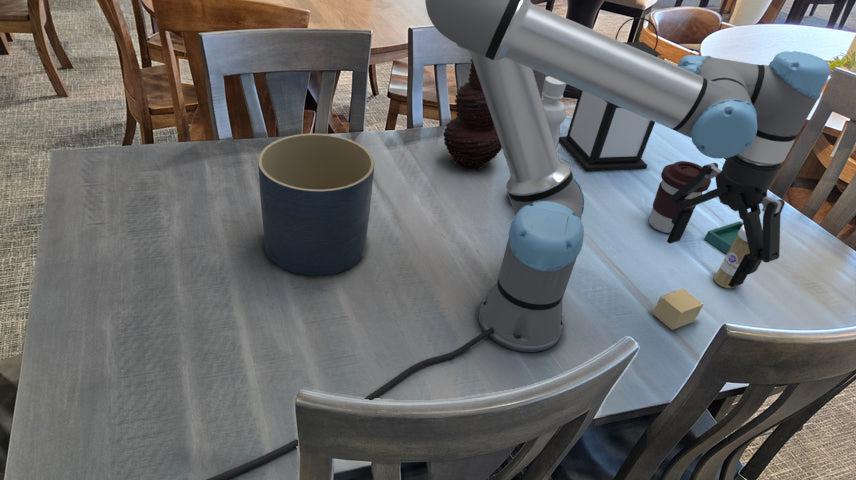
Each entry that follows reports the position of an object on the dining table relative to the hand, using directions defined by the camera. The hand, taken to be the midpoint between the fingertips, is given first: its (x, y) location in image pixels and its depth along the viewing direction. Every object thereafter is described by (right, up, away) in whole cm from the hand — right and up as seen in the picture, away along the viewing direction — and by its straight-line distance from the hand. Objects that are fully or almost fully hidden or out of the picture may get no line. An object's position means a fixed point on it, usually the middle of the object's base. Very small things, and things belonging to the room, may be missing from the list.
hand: (702, 262), depth 113 cm
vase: (-33, +27, +52) cm, 67 cm away
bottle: (-22, +16, +38) cm, 47 cm away
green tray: (+24, +5, +29) cm, 37 cm away
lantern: (+5, +31, +59) cm, 67 cm away
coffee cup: (+10, +9, +34) cm, 36 cm away
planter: (-71, +4, +21) cm, 74 cm away
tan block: (-1, -10, +9) cm, 14 cm away
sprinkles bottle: (+15, -4, +18) cm, 24 cm away
